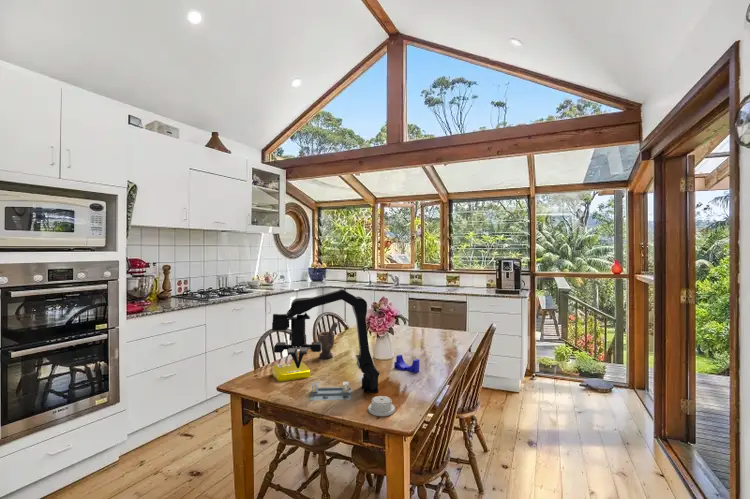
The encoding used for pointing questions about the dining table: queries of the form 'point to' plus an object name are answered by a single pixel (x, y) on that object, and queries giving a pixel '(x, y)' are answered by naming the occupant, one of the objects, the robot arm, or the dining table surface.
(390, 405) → the mechanical component
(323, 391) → the board
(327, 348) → the mortar and pestle
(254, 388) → the dining table surface
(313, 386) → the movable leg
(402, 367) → the blue u-shaped bracket
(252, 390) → the dining table surface
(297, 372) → the element tile
